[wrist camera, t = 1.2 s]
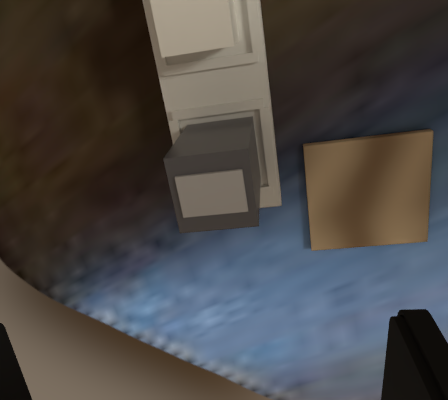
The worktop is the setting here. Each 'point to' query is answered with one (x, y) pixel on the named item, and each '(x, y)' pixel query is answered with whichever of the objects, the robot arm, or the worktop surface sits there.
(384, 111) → the worktop surface
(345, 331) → the worktop surface
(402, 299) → the worktop surface
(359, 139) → the coaster
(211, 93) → the power strip
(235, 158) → the block
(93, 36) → the worktop surface
